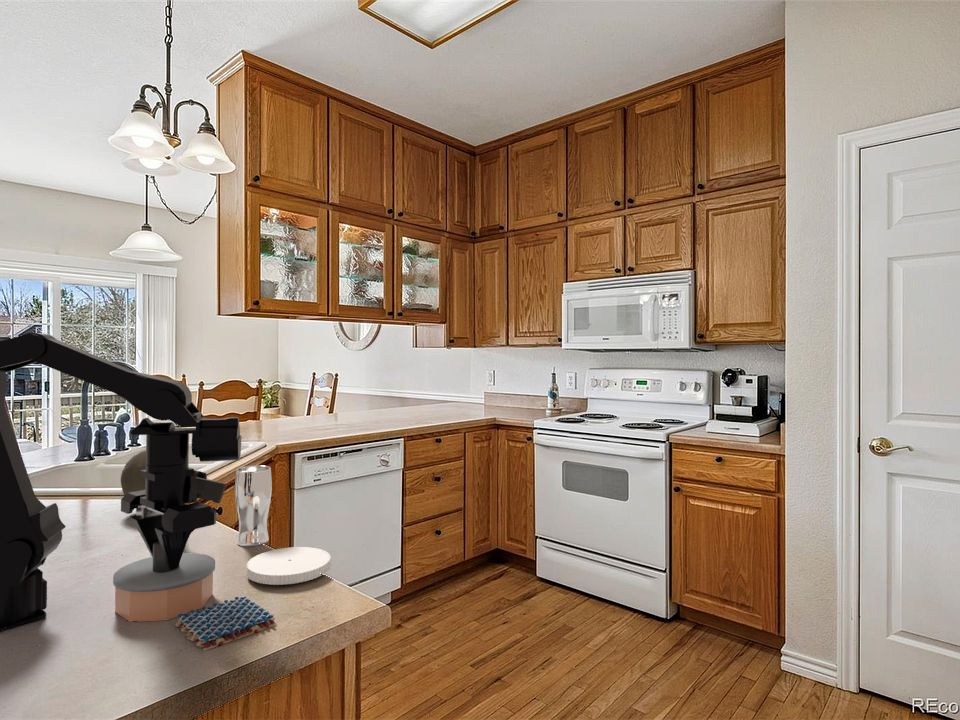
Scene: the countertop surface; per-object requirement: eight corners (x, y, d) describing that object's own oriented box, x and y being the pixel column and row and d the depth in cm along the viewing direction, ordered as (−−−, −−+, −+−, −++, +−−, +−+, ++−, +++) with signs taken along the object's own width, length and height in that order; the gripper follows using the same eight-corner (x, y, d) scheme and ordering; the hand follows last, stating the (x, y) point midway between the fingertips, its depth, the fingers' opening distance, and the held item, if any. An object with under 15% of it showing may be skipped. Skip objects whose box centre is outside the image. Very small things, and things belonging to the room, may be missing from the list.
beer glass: (259, 534, 120) (260, 463, 120) (277, 541, 115) (278, 468, 115) (227, 542, 114) (228, 468, 114) (245, 550, 110) (246, 473, 110)
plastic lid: (231, 575, 98) (231, 561, 98) (302, 554, 108) (302, 541, 108) (273, 598, 89) (273, 582, 89) (346, 573, 99) (346, 559, 99)
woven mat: (202, 657, 72) (202, 641, 72) (172, 629, 79) (172, 614, 79) (279, 629, 79) (279, 614, 79) (246, 605, 86) (246, 592, 86)
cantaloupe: (192, 503, 144) (193, 444, 144) (179, 518, 130) (180, 453, 130) (130, 506, 140) (131, 446, 140) (109, 522, 126) (110, 455, 126)
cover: (136, 600, 76) (137, 565, 76) (97, 575, 85) (98, 544, 85) (232, 571, 87) (232, 540, 87) (189, 551, 95) (190, 523, 95)
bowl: (140, 629, 77) (140, 596, 77) (105, 605, 85) (106, 575, 85) (224, 600, 87) (224, 571, 87) (186, 580, 94) (187, 554, 94)
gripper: (250, 463, 87) (248, 564, 87) (191, 450, 98) (190, 539, 98) (175, 474, 78) (173, 586, 78) (120, 458, 89) (118, 556, 89)
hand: (166, 564), depth 86 cm, fingers open, 5 cm apart
